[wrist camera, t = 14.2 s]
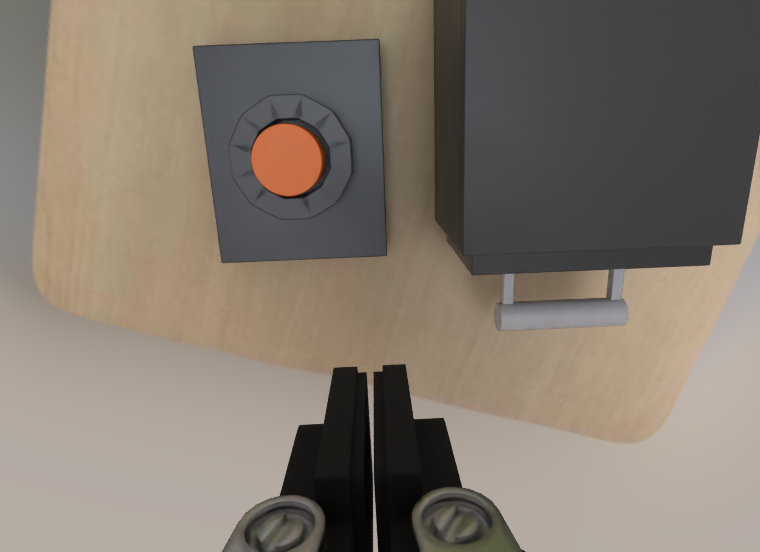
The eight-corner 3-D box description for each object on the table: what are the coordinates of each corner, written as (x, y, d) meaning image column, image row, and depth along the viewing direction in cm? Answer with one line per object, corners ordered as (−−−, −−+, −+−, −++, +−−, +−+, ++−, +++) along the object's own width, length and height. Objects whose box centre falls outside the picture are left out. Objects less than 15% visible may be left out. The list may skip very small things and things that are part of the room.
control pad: (385, 247, 31) (388, 263, 28) (231, 254, 31) (211, 271, 28) (378, 45, 28) (380, 31, 24) (205, 52, 28) (179, 39, 24)
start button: (327, 191, 27) (324, 194, 25) (262, 193, 27) (254, 197, 25) (322, 122, 26) (319, 122, 24) (254, 125, 26) (246, 124, 24)
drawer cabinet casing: (631, 211, 31) (741, 244, 22) (435, 219, 31) (462, 256, 22) (659, -50, 27) (809, -145, 18) (433, -42, 27) (466, -133, 18)
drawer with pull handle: (620, 297, 32) (697, 348, 24) (446, 305, 32) (470, 358, 24) (652, -8, 27) (762, -62, 19) (446, 0, 27) (476, -52, 19)
